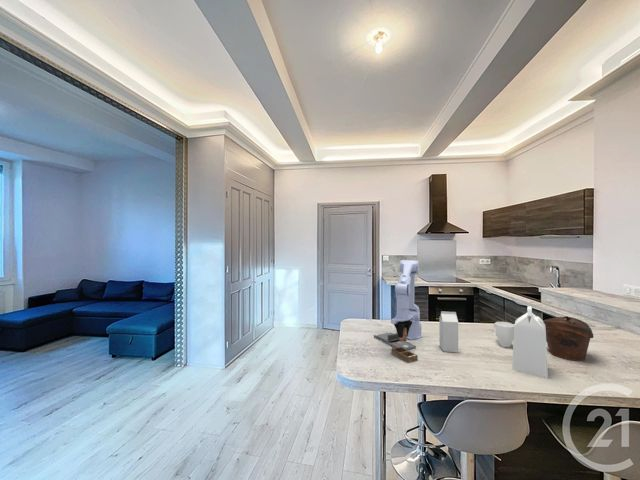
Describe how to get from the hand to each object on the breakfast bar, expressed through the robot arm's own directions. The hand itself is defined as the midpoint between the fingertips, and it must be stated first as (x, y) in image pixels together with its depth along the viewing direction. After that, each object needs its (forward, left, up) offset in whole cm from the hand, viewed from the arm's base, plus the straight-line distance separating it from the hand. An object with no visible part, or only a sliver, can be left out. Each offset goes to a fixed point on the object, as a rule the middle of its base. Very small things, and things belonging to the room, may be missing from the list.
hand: (402, 336), depth 129 cm
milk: (-39, +35, -9) cm, 53 cm away
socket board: (+2, +2, -9) cm, 9 cm away
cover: (-6, -18, -7) cm, 20 cm away
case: (-70, +35, -9) cm, 78 cm away
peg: (0, 0, -2) cm, 2 cm away
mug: (-56, +14, -9) cm, 58 cm away
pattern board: (-6, -14, -9) cm, 18 cm away
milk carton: (-25, +6, -9) cm, 27 cm away
